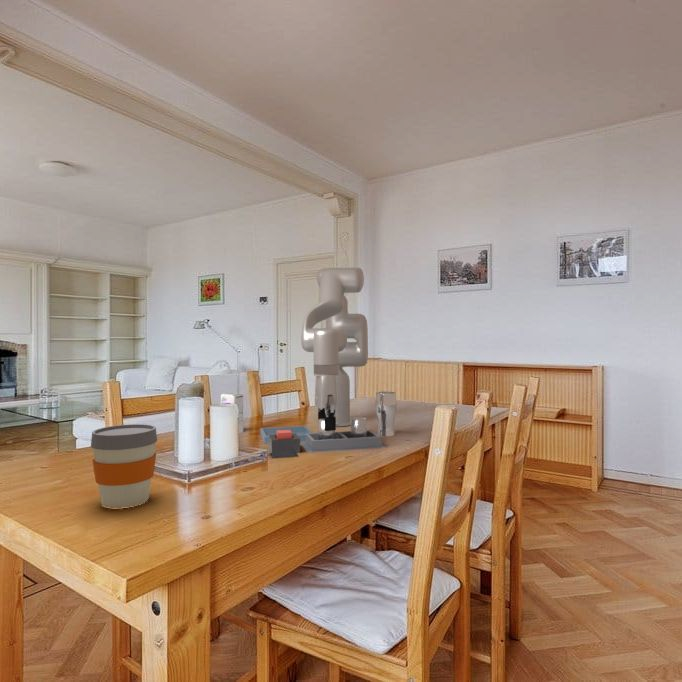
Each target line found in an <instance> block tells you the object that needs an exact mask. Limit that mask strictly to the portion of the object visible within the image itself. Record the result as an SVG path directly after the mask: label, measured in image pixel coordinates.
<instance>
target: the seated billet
mask: <svg viewBox="0 0 682 682" xmlns="http://www.w3.org/2000/svg"><path fill="white" fill-rule="evenodd" d="M367 418H368V417H365V416H352V417H351V416H350V425H349V427H350V430H349V431H350V436H351V438H360V437H367V430H368V419H367Z"/></svg>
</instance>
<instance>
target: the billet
mask: <svg viewBox="0 0 682 682" xmlns="http://www.w3.org/2000/svg"><path fill="white" fill-rule="evenodd" d="M317 424H318V425H317V426H318V428H317V433H318V440H326V439H335V432H336V430H335V431H325V418H321V419H318V418H317Z"/></svg>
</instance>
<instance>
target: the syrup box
mask: <svg viewBox="0 0 682 682" xmlns="http://www.w3.org/2000/svg"><path fill="white" fill-rule="evenodd" d="M221 404H237V406H238V409H239V434H238V435H240V434H243V433H244V393H229V392H227V393H226V392H225V393H222V394H220V405H221Z"/></svg>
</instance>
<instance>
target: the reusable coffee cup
mask: <svg viewBox="0 0 682 682" xmlns="http://www.w3.org/2000/svg"><path fill="white" fill-rule="evenodd" d="M157 434H158V433H157V428H156V426H155V425H151V424H141V423H139V424H137V423H136V424H134V423H133V424H121V425H120V424H118V425H111V426H105V427H101V428H98V429H95V430H93V431H92V432H91V439H90V440H91V441H90V447H91V449H92V450H93V452H92V453H93V459H92V467H93V473H94V479H95V483H96V484H98V489H99V491H98V492H99V497H100V504H102V505H103V506H105V507H110V508H122V507H130V506H135V505H139V504H142V503H144V502H146V501H147V500H148V499H150V491H151V490H150V489H151V482H152V478H153V477H154V476H155V475H154V474H155V466H156V459H157V458H156V457H157V453H156V452H155V449H156V444H157V442H158V436H157ZM148 501H149V500H148ZM148 501H147V502H148ZM147 502H146V503H147ZM144 504H145V503H144ZM102 505H101V506H102ZM142 505H143V504H142Z"/></svg>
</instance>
